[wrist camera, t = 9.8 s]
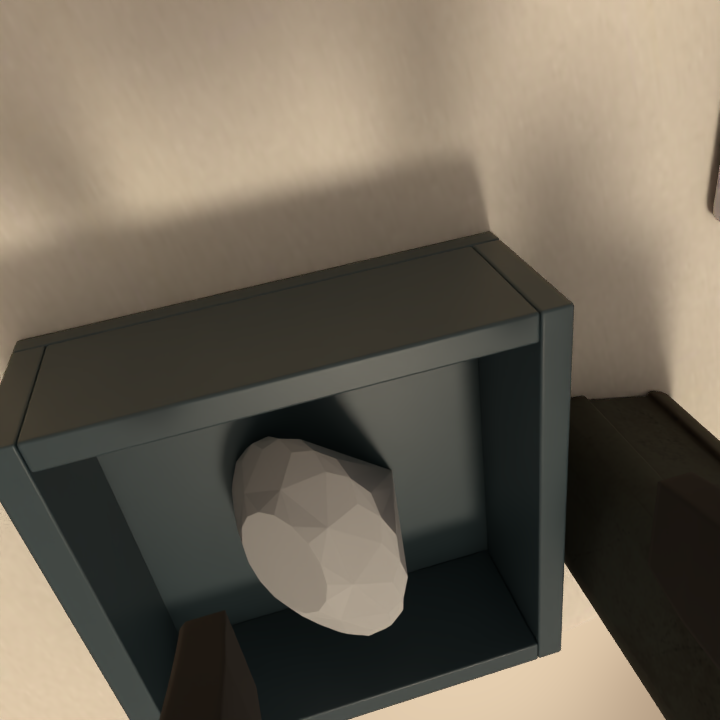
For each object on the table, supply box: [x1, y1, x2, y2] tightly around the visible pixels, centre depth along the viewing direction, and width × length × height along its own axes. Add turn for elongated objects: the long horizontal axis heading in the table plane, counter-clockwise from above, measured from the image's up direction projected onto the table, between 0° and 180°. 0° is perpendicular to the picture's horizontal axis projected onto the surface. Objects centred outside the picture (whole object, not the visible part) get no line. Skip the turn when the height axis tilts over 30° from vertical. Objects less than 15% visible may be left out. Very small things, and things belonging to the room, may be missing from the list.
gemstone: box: [232, 436, 408, 636], centre depth 19 cm, size 6×6×5 cm
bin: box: [0, 232, 574, 720], centre depth 19 cm, size 13×13×5 cm
